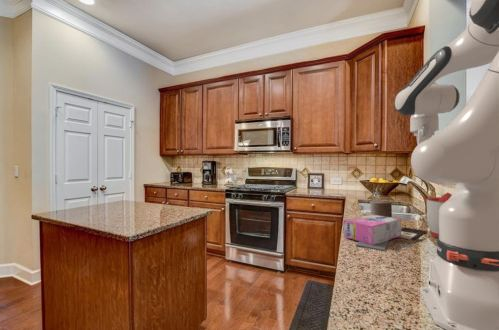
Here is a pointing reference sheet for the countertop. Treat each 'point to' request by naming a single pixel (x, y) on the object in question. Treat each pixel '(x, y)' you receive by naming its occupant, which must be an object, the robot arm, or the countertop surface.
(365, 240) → the gum box
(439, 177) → the robot arm
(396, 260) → the countertop surface
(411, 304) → the countertop surface
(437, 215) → the citrus juicer
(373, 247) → the mat
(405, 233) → the chocolate bar
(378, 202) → the pillar candle
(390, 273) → the countertop surface
